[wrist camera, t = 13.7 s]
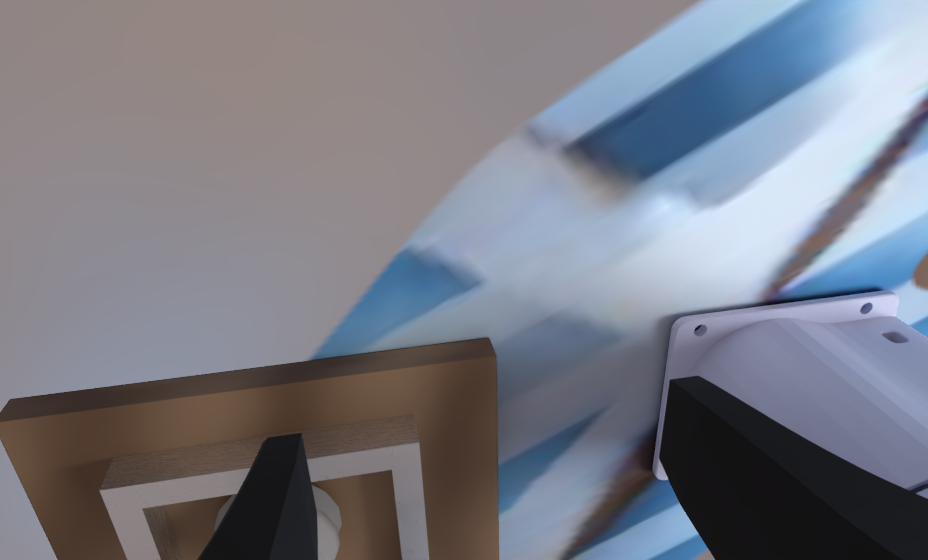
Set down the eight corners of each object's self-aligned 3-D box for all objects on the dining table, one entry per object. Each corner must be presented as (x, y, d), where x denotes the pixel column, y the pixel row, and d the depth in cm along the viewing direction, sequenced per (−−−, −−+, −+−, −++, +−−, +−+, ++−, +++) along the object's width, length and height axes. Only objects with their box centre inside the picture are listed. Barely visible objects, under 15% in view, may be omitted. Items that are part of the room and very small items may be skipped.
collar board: (488, 337, 23) (506, 381, 21) (493, 593, 30) (507, 648, 27) (9, 399, 21) (-32, 456, 18) (128, 661, 27) (108, 728, 25)
